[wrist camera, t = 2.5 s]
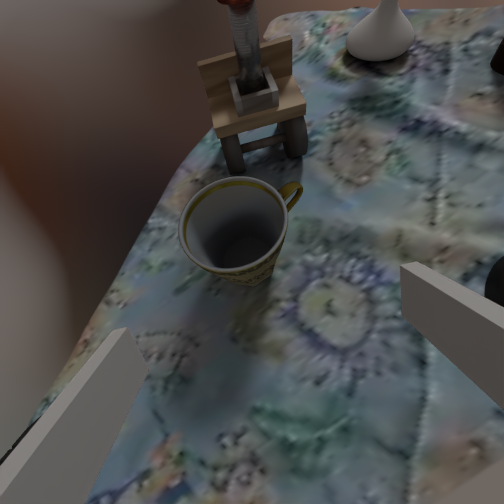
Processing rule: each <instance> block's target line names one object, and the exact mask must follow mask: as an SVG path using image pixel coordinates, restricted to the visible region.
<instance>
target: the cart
mask: <svg viewBox="0 0 504 504" xmlns="http://www.w3.org/2000/svg"><path fill="white" fill-rule="evenodd" d="M260 52H261V62H262V73H263V83H264V90H261V91H258V92H254V93H251V94H247V95H244V96H243V92H242V87H241V81H240V75H239V70H238V64H237V59H236V53H235V51H234V52H230V53H227V54H223V55H220V56H217V57H213V58H210V59H206V60H203V61H199V62H198V67H199V70H200V74H201V77H202V80H203V83H204V86H205V90H206V93H207V96H208V99H209V104H210V110H211V115H212V119H213V124H214V129H215V132H216V135H217V138H218V139H220V141H221V145H222V149H223V152H224V156H225V160H226V163H227V166H228V169H229V172H230V175H231V174H235V173H239V172H242V171H246V167H245V163H244V159H243V155H242V153H246V152H250V151H254V150H257V149H261V148H265V147H268V146H272V145H276V144H279V143H283V147H284V151H285V154H286V156H287V158H288V159H291V158H294V157H298V156H302V155H305V154H306V153H307V149H308V136H307V128H306V123H305V119H304V116H303V115H306V101H305V99H304V97H303V95H302V93H301V91H300V89H299V87H298V85H297V83H296V81H295V79H294V77H293V75H292V37H291V36H290V35H288V36H285V37H282V38H278V39H275V40H271V41H268V42H265V43H261V44H260ZM274 123H277V126H278V129H279V131H280V132H281V134H278V135H274V136H271V137H267V138H263V139H260V140H256V141H252V142H249V143H245V144H241V145H240V142H239V138H238V135H237V134H238V133H242V132H245V131H249V130H253V129H256V128H260V127H263V126H267V125H271V124H274Z"/></svg>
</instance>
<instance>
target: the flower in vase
mask: <svg viewBox="0 0 504 504" xmlns="http://www.w3.org/2000/svg"><path fill="white" fill-rule="evenodd" d="M413 41H414V30H413V28H412V26H411V24H410V22H409V21H408V19H407V18H406V17H405V15H404V14H403V13H402V11H401V10H400V8H399V5H398V0H381V2H380V4H379V5H378V7H377V8H376V9H375V10H374V11H372V12H371V13H370V14H369V15H368V16H366V17H365V18H364V19H363V20H361V21H360V22H359V23H358V24H357V25H356V26H355V27H354V28H353V29H352V30H351V31H350V33H349V35H348V37H347V39H346V47H347V50H348V51H349V53H350V54H351V55H353V56H354V57H356V58H358V59H362V60H366V61H384V60H389V59H393V58H395V57H398V56H400V55H402V54H403V53H404V52H406V51H407V50H408V49H409V48H410V47H411V45H412V44H413Z"/></svg>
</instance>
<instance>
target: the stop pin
mask: <svg viewBox="0 0 504 504" xmlns="http://www.w3.org/2000/svg"><path fill="white" fill-rule="evenodd" d="M217 1H218V2H219V3H221V4H225V5H227V8H228V14H229V19H230V25H231V30H232V36H233V42H234V47H235V53H236V59H237V64H238V70H239V75H240V81H241V87H242V92H243V96H244V95H247V94H251V93H254V92H258V91H261V90H264V83H263V73H262V62H261V52H260V42H259V32H258V21H257V11H256V1H255V0H217Z"/></svg>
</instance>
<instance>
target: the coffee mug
mask: <svg viewBox="0 0 504 504" xmlns="http://www.w3.org/2000/svg"><path fill="white" fill-rule="evenodd" d="M491 67H492V68H493V69H494V70H495V71H497V72H498V73H501V74H503V75H504V38H503V40H502V42H501V44H500V45H499V47H498V49H497V51H496V53H495V55H494V56H493V58H492V60H491Z"/></svg>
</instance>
